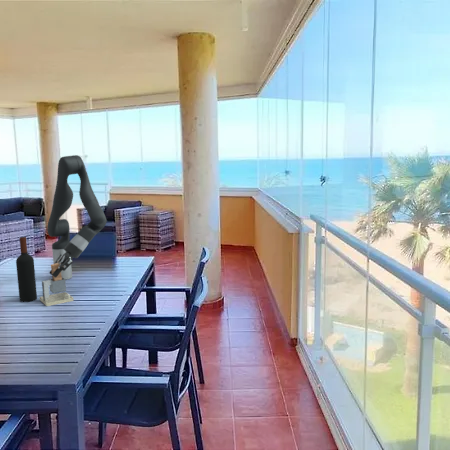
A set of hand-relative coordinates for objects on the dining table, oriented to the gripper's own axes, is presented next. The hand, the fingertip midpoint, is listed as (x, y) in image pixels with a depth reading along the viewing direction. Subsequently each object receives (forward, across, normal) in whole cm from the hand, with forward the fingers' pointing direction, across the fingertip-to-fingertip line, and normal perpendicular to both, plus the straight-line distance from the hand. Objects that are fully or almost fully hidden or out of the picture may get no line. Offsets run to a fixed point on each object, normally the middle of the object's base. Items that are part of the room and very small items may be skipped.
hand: (52, 275), depth 199 cm
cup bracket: (+7, 0, +10) cm, 12 cm away
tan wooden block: (+3, 0, +7) cm, 8 cm away
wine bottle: (+15, -10, +2) cm, 18 cm away
